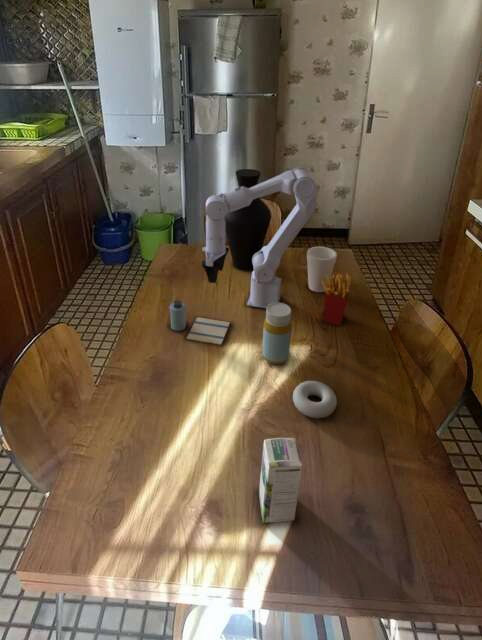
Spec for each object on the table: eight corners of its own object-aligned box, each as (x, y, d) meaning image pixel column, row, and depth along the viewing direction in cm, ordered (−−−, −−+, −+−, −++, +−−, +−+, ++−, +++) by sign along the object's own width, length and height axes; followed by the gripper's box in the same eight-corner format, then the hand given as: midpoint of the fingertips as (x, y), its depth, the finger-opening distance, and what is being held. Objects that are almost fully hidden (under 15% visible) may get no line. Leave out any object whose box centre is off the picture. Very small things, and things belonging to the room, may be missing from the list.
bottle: (287, 367, 111) (291, 319, 105) (260, 363, 113) (263, 315, 106) (289, 349, 117) (293, 303, 111) (263, 346, 119) (266, 300, 112)
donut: (333, 427, 95) (338, 394, 103) (334, 416, 93) (340, 383, 102) (288, 415, 98) (296, 383, 106) (289, 403, 96) (297, 373, 105)
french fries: (343, 328, 126) (350, 284, 120) (315, 321, 129) (320, 278, 123) (347, 312, 134) (354, 269, 127) (320, 306, 136) (326, 264, 130)
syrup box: (258, 492, 81) (261, 438, 75) (289, 490, 81) (295, 436, 75) (262, 524, 76) (267, 468, 70) (296, 521, 76) (303, 465, 70)
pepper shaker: (188, 322, 128) (187, 299, 124) (183, 331, 124) (182, 308, 120) (174, 320, 129) (172, 297, 125) (168, 329, 125) (167, 305, 121)
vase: (224, 252, 168) (225, 164, 153) (268, 255, 167) (274, 166, 152) (218, 274, 153) (219, 179, 138) (267, 278, 152) (273, 181, 136)
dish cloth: (229, 323, 128) (229, 322, 128) (221, 344, 119) (221, 343, 119) (197, 318, 130) (197, 317, 130) (186, 339, 121) (186, 337, 121)
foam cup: (299, 289, 145) (302, 254, 139) (309, 277, 152) (313, 244, 147) (326, 297, 141) (331, 262, 135) (336, 285, 148) (340, 251, 142)
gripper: (209, 224, 135) (209, 263, 141) (195, 244, 122) (196, 286, 128) (231, 227, 134) (230, 266, 140) (219, 247, 121) (219, 289, 127)
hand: (215, 275), depth 134 cm, fingers open, 7 cm apart
